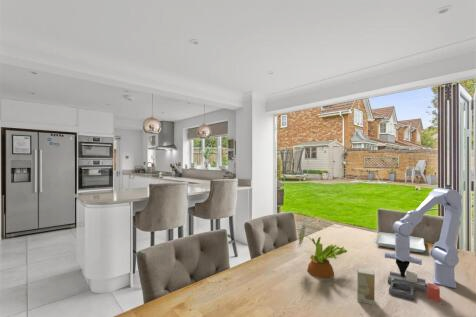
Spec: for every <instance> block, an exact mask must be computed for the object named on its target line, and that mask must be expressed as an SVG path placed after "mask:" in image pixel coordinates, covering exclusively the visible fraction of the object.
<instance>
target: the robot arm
mask: <svg viewBox="0 0 476 317" xmlns="http://www.w3.org/2000/svg"><path fill="white" fill-rule="evenodd" d="M462 198H463V196H462V195H461V193H460V192H459V191H458V190H456V189H449V188H445V187H440V186H439V187H435V188H433V189H432V191H430V192H429V193H428V196H427V197H426V198H425V199H424V200H423V202H421V204H420V205H419V206H418V207H417V208H416V209H411V210H408V211H407V214H405V215H404V216H403V217H402V218H400V220H397V221H394V223H393V225H392V226H391V228H392V230H393V231H394V234H395V249H394V251H395V253H390V252H389V253H388V252H385V253H384V259H391V260H395V263H396V266H397V268H398V270H399V273H400V274H401V277H405V275H406V271H407V270H408V268H409V266H410V263H412V264H417V265H419V266H422V265H423V261H422V259H419V258H417V257H416V258H415V257H413V256H411V251H410V236H411V235H412V234H413V232H414V228H415V227H416V226H417V225H418V224H419V223H421V222H422V221H423V219H424V217H423V216H424V215H425V214H426V213H427V212H429V211H431V209H432V208H434V207H435V206H438V205H442V206H443V208H444V209H445V210H444V217H443V220H442V221H443V222H442V226H441V230H440V234H439V239H438V241H435V242H434V243H433V246H432V247H431V249H430V251H429V252H430V257H432V258H433V262H434V263H433V265H434V266H433V267H434V274H433V284H435V285H439V286H440V285H441V286H444V287H448V288H452V289H457V284H456V279H455V277H456V276H455V274H456V273H455V268H456V266H457V265H458V264H459V261H460V258H459V251H458V249H457V248H456V246H455V243H456V240H457V239H456V238H457V234H458V229H459V225H460V221H461V220H460V219H461V215H462V211H463V205H462Z"/></svg>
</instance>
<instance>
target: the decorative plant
mask: <svg viewBox="0 0 476 317" xmlns="http://www.w3.org/2000/svg"><path fill="white" fill-rule="evenodd" d="M301 227H302V228H301V230H300V231H299V233H298V244H297V245H299V246H298V247H302V244H303V242H304V241H303V240H304V237H307V238H308V239H310V240H311V242H312V243H313V244H314V245H315V254H311V256H310V257H309V258H310V260H311V261H310V262H309V263H308V266H307V269H306V272H307V273H308V275H311V276H313V277H316V278H321V279H324V278H325V279H326V278H327V279H328V278H332V277H333V276H334V275H335V273H334V272H335V271H334V268H333V266H332V265H331V263H330V260H329V258H330V259H335V260H336V259H338V257H337V256H339V255H342V254H346V253H347V252H348V250H346V249H345V248H344V247H345V246H342V247H339V246H337V245H336V244H329V245H328V246H327V247H325V248H324V249H323V244H322V243H321V236H319V237H318V238H317V240H316V241H315V239H314V238H310V237H309V236H307V235H305V231H306V223H303V225H302V226H301Z"/></svg>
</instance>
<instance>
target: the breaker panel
mask: <svg viewBox="0 0 476 317" xmlns="http://www.w3.org/2000/svg"><path fill="white" fill-rule="evenodd" d="M391 281H392V282H396V283H400V284H404V285H408V286H412V287H414V291H417V292H422V293H425V292H426V279H425V278H422V277H417V283H416V282H412V281H407V280H406V274H405V277H401V273H400V272H395V271H391V270H390V271H389V275H388V276H387V284H389V285H390V284H391Z"/></svg>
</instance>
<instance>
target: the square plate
mask: <svg viewBox="0 0 476 317" xmlns="http://www.w3.org/2000/svg"><path fill="white" fill-rule="evenodd" d="M374 243H375V244H376V245H377V246H380V247H384V248H388V249H389V248H390V249H393V250H395V233H390V232H389V233H388V232H382V231H381V232H380V231H379V232H378V235H377V237H376V239H375V241H374ZM426 250H427V249H426V246H425V238H423V237H417V236H412V235H410V252H412V253H413V252H415V253H424V252H426Z"/></svg>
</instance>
